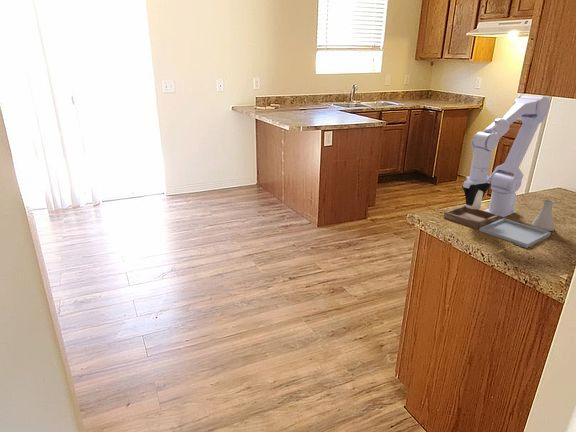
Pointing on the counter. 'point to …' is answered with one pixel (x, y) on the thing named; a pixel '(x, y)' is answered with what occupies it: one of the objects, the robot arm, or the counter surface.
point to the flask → (545, 217)
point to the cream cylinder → (476, 201)
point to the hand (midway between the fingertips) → (473, 203)
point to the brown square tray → (471, 216)
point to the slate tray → (515, 232)
